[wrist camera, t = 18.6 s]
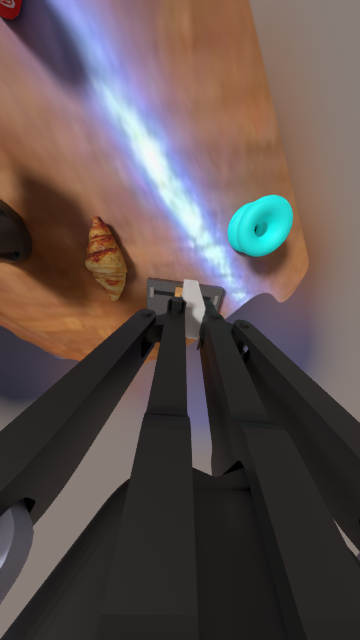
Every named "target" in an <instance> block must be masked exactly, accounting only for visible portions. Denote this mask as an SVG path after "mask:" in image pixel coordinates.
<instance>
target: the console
mask: <svg viewBox="0 0 360 640" xmlns="http://www.w3.org/2000/svg"><path fill="white" fill-rule="evenodd" d="M183 284H184V282H180V281H173V280H165V279H157V278H150V277H149V278H148V279H147V309H150V310H153V311H155V312H156V315H162V314H165V313H166V312H167V304H168V299H170V298H171V297H172V296H175V290H176V287H181V288H183ZM199 287H200V291H201V294H202V298H203V299H204V300H210V301H211V302H213V304H214V307H215V309H216V312H217V310H218V306H219V303H220V300H221V296H222V293H223V290H224V289H223V288H222V287H218V286H211V285H203V284H199Z"/></svg>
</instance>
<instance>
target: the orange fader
mask: <svg viewBox="0 0 360 640" xmlns="http://www.w3.org/2000/svg"><path fill="white" fill-rule="evenodd" d="M182 292H183V288H181V287H176V290H175V296H177V297H182Z"/></svg>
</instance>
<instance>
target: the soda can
mask: <svg viewBox="0 0 360 640" xmlns="http://www.w3.org/2000/svg"><path fill="white" fill-rule="evenodd" d="M21 5H22V0H0V15H1V16H2V17H3V18H7V19H14V18H15V17H16V16H17V15H19V12H20V8H21Z"/></svg>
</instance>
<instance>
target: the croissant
mask: <svg viewBox="0 0 360 640" xmlns="http://www.w3.org/2000/svg"><path fill="white" fill-rule="evenodd" d="M91 220H92V224H93V227H92V229H91V230H90V233H89V245H88V247H87V248H86V251H87V259H86V260H85V265H86V267H87V268H88V269H89V270H90V271H92V274H93V276H94V277H95V279H96V280H97V281H98V282H100V283H101V284H102V286H103V288H104V291H105V292H106V293H107V294H109V296H110V298H111V299H112V300H113V301H116V300H118V298H119V297H120V295H121V292H122V291H123V288H124V286H125V282H126V273H127V272H128V270H127V268H126V264H125V262H124V258H123V255H122V253H121V251H120V249H119V247H118V245H117V243H116V241H115V239H114V238H113V236H112V235H111V231H110V229H109V228H108V227H107V226H106V224H105V223H104V222H103V221H102V219H101V218H100V217H98V216H95V217H92V219H91Z"/></svg>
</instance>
